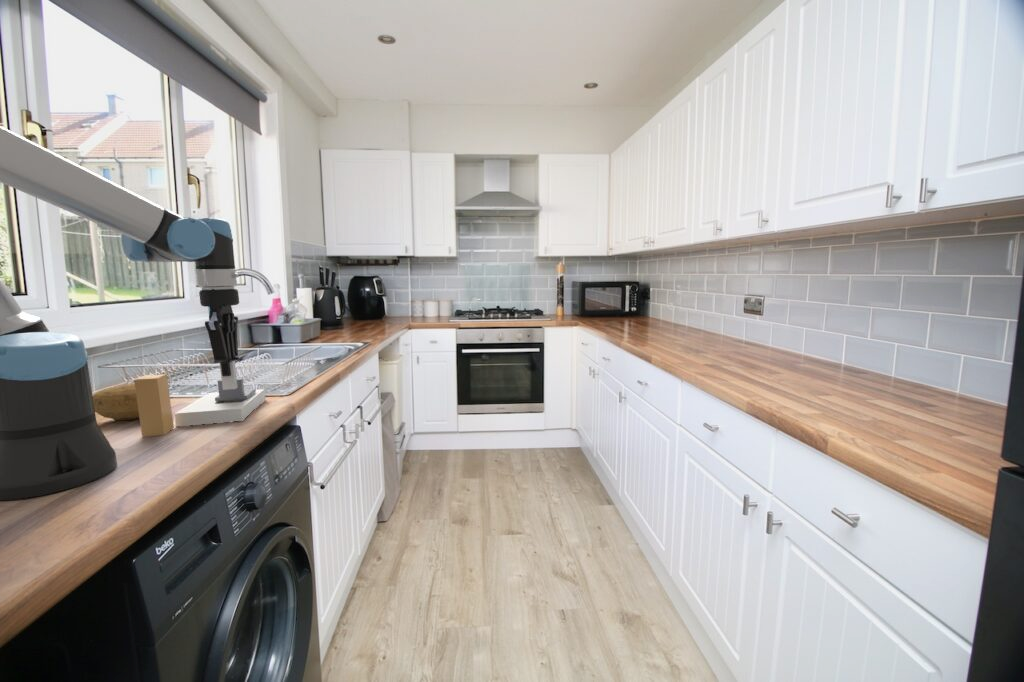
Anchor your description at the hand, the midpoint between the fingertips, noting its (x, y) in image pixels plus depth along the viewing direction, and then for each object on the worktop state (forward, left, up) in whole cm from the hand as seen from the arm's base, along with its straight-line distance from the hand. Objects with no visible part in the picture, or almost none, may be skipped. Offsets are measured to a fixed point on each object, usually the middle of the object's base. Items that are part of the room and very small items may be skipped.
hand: (230, 388), depth 106 cm
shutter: (+4, 0, -3) cm, 5 cm away
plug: (-10, +11, -6) cm, 16 cm away
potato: (+3, +22, -6) cm, 23 cm away
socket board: (+2, +2, -6) cm, 7 cm away
